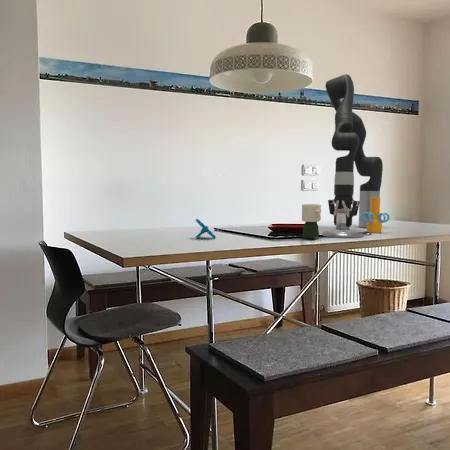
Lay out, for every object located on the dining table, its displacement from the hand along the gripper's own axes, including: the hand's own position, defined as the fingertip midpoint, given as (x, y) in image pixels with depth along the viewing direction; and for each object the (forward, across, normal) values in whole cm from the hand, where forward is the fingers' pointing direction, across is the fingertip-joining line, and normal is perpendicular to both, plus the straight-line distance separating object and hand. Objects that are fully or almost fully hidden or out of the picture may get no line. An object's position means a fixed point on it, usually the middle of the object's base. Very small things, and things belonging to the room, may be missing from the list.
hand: (342, 225), depth 198 cm
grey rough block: (+2, 0, 0) cm, 2 cm away
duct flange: (+4, 0, 0) cm, 4 cm away
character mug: (+4, -1, -18) cm, 19 cm away
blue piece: (+4, -25, -50) cm, 56 cm away
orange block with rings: (+4, 0, +22) cm, 22 cm away
